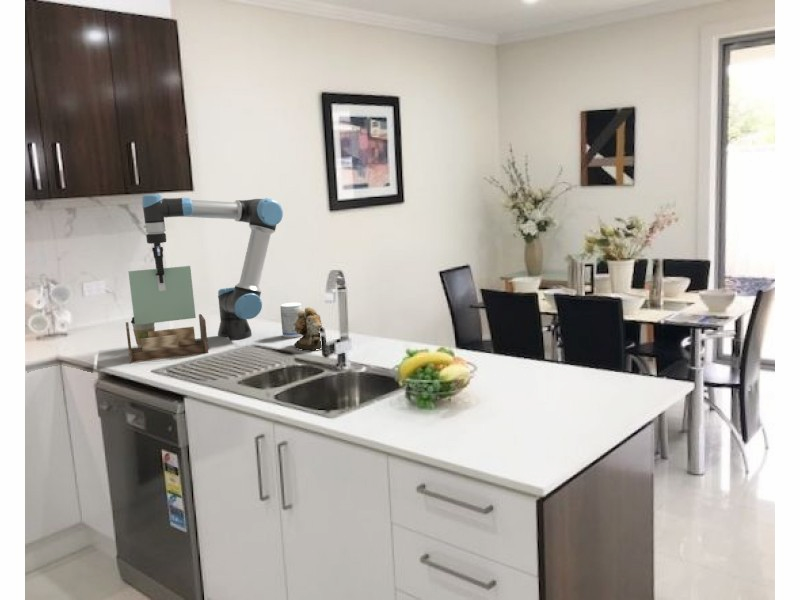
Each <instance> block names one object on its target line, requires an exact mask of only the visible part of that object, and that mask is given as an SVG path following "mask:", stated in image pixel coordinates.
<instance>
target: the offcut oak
mask: <svg viewBox="0 0 800 600" xmlns="http://www.w3.org/2000/svg"><path fill="white" fill-rule="evenodd" d="M169 335H177V336H178V346H180V345H188V344H195V341H196V337H195V336H196V335H195V327H194V326H188V327H186V326H185V327H177V328H170V329H169V328H168V329H161V330H155V331H150V332H148V337H149V338H152V337H161V336H169Z"/></svg>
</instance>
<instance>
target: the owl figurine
mask: <svg viewBox="0 0 800 600" xmlns="http://www.w3.org/2000/svg"><path fill="white" fill-rule="evenodd" d="M297 316H298V319H297V320H296V321H297V322H296V323H295V330H296V331H297V333H298V334H301V335H302V336H301V337H300V338H299V340H296V342H295V343H294V346H295V347H294V346H293V347H294V348H295V349H296V348H298V349H297V350H299V349H302V350H301V351H304V350H312V351H313V350H316V349H320V348H321V341H322V340H321V337H320V333H319V328H322V329H323V326H322V320H321V315H320V314H318V312H317V310H315V309H314V308H313V307H310V306H307V307H305V308H304V310H302V311H300V312H298V314H297ZM320 340H321V341H320Z"/></svg>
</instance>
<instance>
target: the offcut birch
mask: <svg viewBox="0 0 800 600" xmlns="http://www.w3.org/2000/svg"><path fill="white" fill-rule="evenodd" d="M141 344H142V352H144V351H152V350H160V349H168V348H176V347H179V346H178V336H177V335H169V336H161V337H152V338H144V339H141Z"/></svg>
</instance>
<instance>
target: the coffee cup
mask: <svg viewBox="0 0 800 600" xmlns="http://www.w3.org/2000/svg"><path fill="white" fill-rule="evenodd" d="M130 323H131V324H132V330H133V335H134V338H135V343H136V346H137V348H139V347H142V344H141V339H144V338H149V337H148V332H150V331H156V329H155V328H156V327H155V323H149V324H140V325H135V322H134V316H133V317H131V322H130Z"/></svg>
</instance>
